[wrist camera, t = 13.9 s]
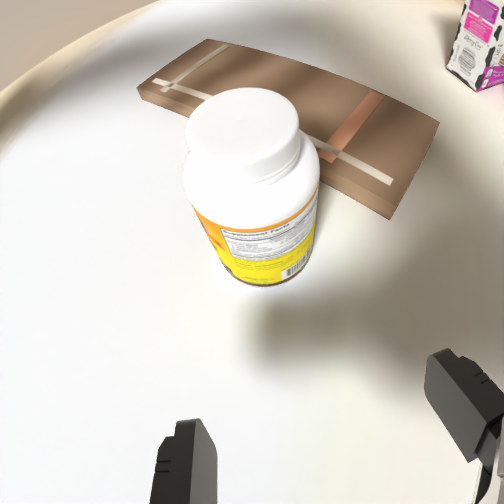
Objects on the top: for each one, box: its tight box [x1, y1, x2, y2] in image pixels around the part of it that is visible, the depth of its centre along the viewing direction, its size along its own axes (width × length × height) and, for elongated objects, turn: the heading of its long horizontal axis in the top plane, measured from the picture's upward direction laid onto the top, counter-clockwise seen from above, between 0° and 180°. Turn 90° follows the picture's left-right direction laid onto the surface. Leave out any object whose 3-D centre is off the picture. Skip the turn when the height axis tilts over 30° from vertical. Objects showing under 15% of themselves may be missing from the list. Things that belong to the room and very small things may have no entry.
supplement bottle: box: [183, 88, 320, 288], centre depth 15 cm, size 6×6×10 cm
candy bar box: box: [446, 0, 504, 92], centre depth 18 cm, size 11×5×16 cm, turn 118°
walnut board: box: [137, 39, 440, 220], centre depth 24 cm, size 25×10×2 cm, turn 52°
